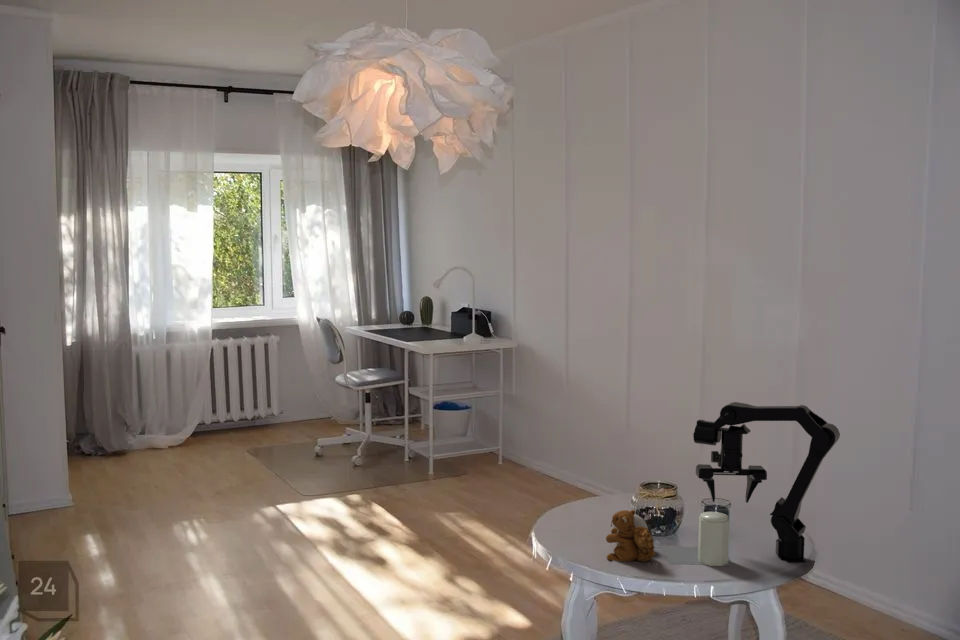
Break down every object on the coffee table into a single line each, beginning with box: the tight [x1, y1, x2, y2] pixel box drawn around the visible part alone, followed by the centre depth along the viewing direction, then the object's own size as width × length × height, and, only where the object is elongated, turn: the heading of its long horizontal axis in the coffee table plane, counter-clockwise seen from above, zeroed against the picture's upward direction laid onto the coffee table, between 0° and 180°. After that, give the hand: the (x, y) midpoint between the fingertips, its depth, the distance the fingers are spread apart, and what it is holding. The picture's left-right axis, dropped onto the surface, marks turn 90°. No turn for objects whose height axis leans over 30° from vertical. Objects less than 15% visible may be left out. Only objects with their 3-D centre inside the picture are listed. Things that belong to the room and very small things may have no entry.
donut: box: [612, 513, 649, 530], centre depth 254 cm, size 10×4×10 cm, turn 67°
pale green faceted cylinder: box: [697, 511, 730, 567], centre depth 242 cm, size 7×7×12 cm
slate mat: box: [661, 545, 734, 567], centre depth 247 cm, size 17×14×1 cm
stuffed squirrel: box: [605, 509, 656, 563], centre depth 245 cm, size 10×14×13 cm
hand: (730, 501), depth 254 cm, fingers open, 9 cm apart
